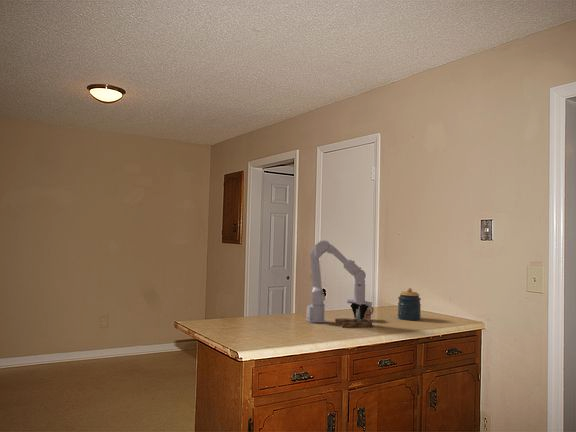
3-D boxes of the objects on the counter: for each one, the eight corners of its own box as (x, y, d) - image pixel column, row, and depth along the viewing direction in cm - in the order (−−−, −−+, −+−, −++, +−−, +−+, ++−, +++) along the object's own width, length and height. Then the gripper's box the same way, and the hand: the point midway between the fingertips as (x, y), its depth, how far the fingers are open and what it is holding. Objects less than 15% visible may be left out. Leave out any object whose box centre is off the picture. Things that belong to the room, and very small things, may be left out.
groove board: (343, 327, 249) (343, 322, 249) (335, 323, 260) (335, 318, 260) (372, 327, 253) (372, 322, 253) (362, 322, 264) (363, 318, 264)
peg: (359, 323, 257) (360, 309, 257) (354, 322, 259) (354, 308, 259) (363, 322, 259) (363, 308, 260) (358, 321, 262) (358, 308, 262)
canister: (423, 321, 275) (423, 289, 276) (400, 320, 276) (400, 289, 276) (417, 317, 288) (418, 287, 289) (395, 316, 289) (396, 286, 289)
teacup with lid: (362, 321, 267) (362, 300, 267) (351, 319, 275) (351, 298, 275) (378, 320, 273) (378, 299, 274) (367, 317, 281) (368, 297, 282)
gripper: (344, 291, 262) (343, 317, 261) (367, 294, 252) (366, 321, 252) (351, 290, 267) (351, 315, 267) (374, 293, 257) (373, 319, 257)
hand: (359, 318), depth 259 cm, fingers closed on peg, 3 cm apart
